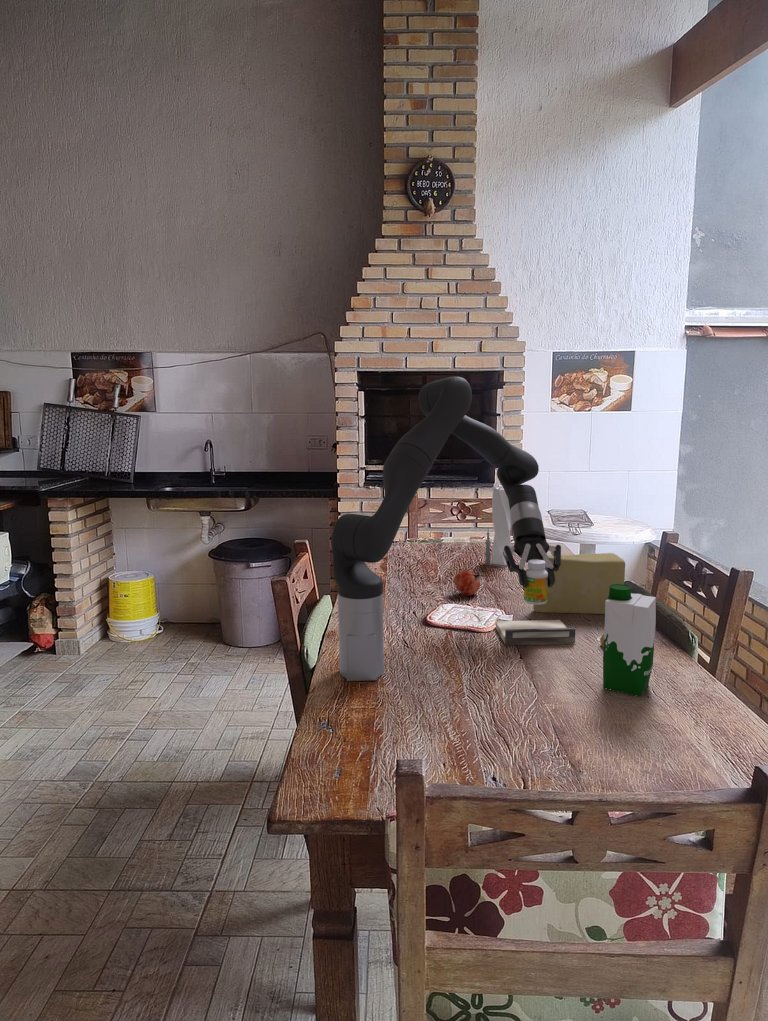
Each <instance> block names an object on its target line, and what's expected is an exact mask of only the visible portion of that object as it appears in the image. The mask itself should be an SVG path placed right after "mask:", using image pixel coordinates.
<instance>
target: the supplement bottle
mask: <svg viewBox="0 0 768 1021" xmlns="http://www.w3.org/2000/svg"><path fill="white" fill-rule="evenodd" d="M544 568H545V561H543V560H539V559H532V560H529V561H528V563H527V569H525V572H526V577H527V587H526V588H523V602H524V603H526V604H528V605H541V604H545V603H546V602H547V594H548V572H547V571H546V570H544Z"/></svg>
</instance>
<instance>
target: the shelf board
mask: <svg viewBox="0 0 768 1021" xmlns="http://www.w3.org/2000/svg"><path fill="white" fill-rule="evenodd" d="M494 623H495V625H496V627H495V630H496V631H497V633H498V635H499V636H500V638H501V639H502V641H503V643H504V645H505V646H523V645H524V646H526V645H527V646H529V645H530V646H531V645H572V644H571V643H575V644H576V630H577V629H576V628H575V627H567V626H566V624H564V622H562V621H561V619H539V620H537V619H536V620H498V621H497V620H496V621H495V622H494Z"/></svg>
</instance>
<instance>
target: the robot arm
mask: <svg viewBox="0 0 768 1021" xmlns="http://www.w3.org/2000/svg"><path fill="white" fill-rule="evenodd" d="M417 398H418V404H419V409H420V410H421V411H422V413H423V415H424V416H425V418H423V419H421V421H420V422H418V423H417V424H416V425H414V426H413V427H412V428H411V429H409V431H407V432H406V433H405V434H404V435H403V436H402V437H401V438H399V440H398V441H397V443H395V445H394V447H393V448H392V450H391V451H390V453H389V454H388V456H387V457H386V459H385V462H384V463H383V468H382V481H383V489H384V496H383V499H382V501H381V503H380V505H379V507H378V509H377V510H376V511H375V513H374V514H373V515H364V514H357V513H344V514H342V515H340V516H339V517H338V519H336V520H335V523H334V526H333V529H332V533H331V553H332V565H333V578H334V581H335V584H336V586H337V603H338V604H337V605H338V606H337V608H338V611H337V612H338V613H337V614H338V618H337V619H338V650H339V651H338V652H339V654H338V656H339V658H338V659H339V674H340V676H341V677H343V678H345V679H346V681H347V682H356V681H357V682H359V681H377V680H378V678H380V677H381V676H383V674H384V673H385V662H384V659H385V657H384V656H385V654H384V653H385V652H384V651H385V650H384V649H385V647H384V643H385V642H384V637H385V636H384V581H383V578H382V577H380V575H378V574H376V573H375V572H374V571H372V570H371V568H369V566H368V565H367V563H368V564H369V563H371V564H372V563H373V564H374V563H375V564H376V563H378V562H380V561H382V560H383V559H384V558H385V557H386V555H387V554H388V553H389V551H390V549H391V547H392V545H393V543H394V540H395V538H396V536H397V533H398V532H399V529H400V527H401V526H402V525H401V524H402V522H403V520H404V517H405V516H406V513H407V511H408V509H409V508H410V505H411V503H412V502H413V500H414V498H415V496H416V494H417V492H418V490H419V489H420V487H421V485H423V483H424V481H425V479H426V477H427V476H428V474H429V472H430V471H431V469H432V466H433V465H434V463H435V461H436V460H437V457H438V456H439V454H440V452H441V450H442V449H443V448H444V445H445V444H446V443H447V441H448V439H449V437H450V436H451V434H452V435H454V436H455V437H456V438H458V439H459V440H461V441H463V442H464V443H466V444H467V445H468V446H469V447H470V448H472V449H473V450H474V451H475V452H477V453H478V454H479V455H480V456H481V458H483V459H484V460H485V461H486V462H487V463H488V464H490V465H491V466H492V467H493V468H497V470H496V477H497V480H498V481H500V485H502V487H503V488H504V491H505V493H506V495H507V498H508V501H509V507H510V519H511V531H512V532H511V533H512V536H513V542H514V544H513V546H512V545H511V547H509V546H505V547H504V550H503V555H504V558H505V560H506V563H507V569H508V571H509V572H510V573H514V572H515V573H516V574H517V576H518V577H517V578H518V582H519V583H518V584H519V585H520V586H522V589H524V588H526V587H527V577H526V572H525V571H526V569H525V566H526V563H527V564H528V561H529V560H532V559H539V560H543V561H545V568H544V569H545V570H546V571H547V572H548V587H552V586H553V585H554V583H555V576H554V571H558V569H559V567H560V565H561V555H562V547H561V545H560V544H556V545H555V546H554V545H550V544H549V543H548V541H547V538H546V533H545V532H546V531H545V528H544V523H543V522H544V521H543V516H542V512H541V510H540V507H539V501H538V497H537V492H536V490H535V488H534V487H533V486H532V485H529V484H525V483H526V482H527V483H528V482H529V481H531V480H533V479H535V478H536V477H537V476H538V474H539V472H540V471H539V470H540V468H539V464H538V461H537V460H536V458H535V457H534V456H532V455H531V453H529V452H528V451H526V450H523V449H521V448H519V447H517V446H515V445H513V444H511V443H510V442H509V441H508V440H507V439H506V438H504V436H503V435H501V433H499V432H498V431H497V430H496V429H494V428H493V427H491V426H490V425H487V424H486V423H483V422H482V421H481V422H480V421H478V420H476V419H474V418H471V417H469V416H468V415H466V414H467V413H468V411H469V410H470V407H471V405H472V404H471V403H472V399H473V392H472V387H471V385H470V383H469V382H468V381H467V379H465V378H464V377H461V376H448V377H445V378H441V379H437V380H434V381H432V382H428V383H426V384H424V385H423V386H422V387H421V389H420V390H419V393H418V397H417ZM548 552H550V555H552V556H554V559H553V564H552V563H551V562H550V560H549V557H548V555H549V554H547V553H548ZM514 553H515V554H516V555H517V556H518V557H519V558H520V560H519V564H516V562H515V558H514V556H513V555H514Z"/></svg>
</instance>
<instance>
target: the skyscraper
mask: <svg viewBox="0 0 768 1021" xmlns="http://www.w3.org/2000/svg"><path fill="white" fill-rule="evenodd" d="M499 483H500V481H499V480H498V481H497V482H496V483H495V484H493V485H494V486H493V488H492V498H491V499H492V502H491V516H492V517H491V518H492V525H493V531H494V536H493V543H492V544H493V545H492V553H491V539H490V528H489V527H487V532H486V536H487V537H486V539H485V553H484V555H485V558H484V563H483V564H484V565H486V566H494V567H499V568H500V567H501V568H504V567H506V566H507V563H506V560H505V558H504V555H503V550H504V547H505V546H509V547H512V541H511V540H512V538H511V531H512V527H511V519H510V507H509V501H508V498H507V495H506V493H505V491H504V488H503V487H502V485H501V483H500V485H498V484H499ZM497 485H498V487H497ZM507 567H508V566H507Z"/></svg>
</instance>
